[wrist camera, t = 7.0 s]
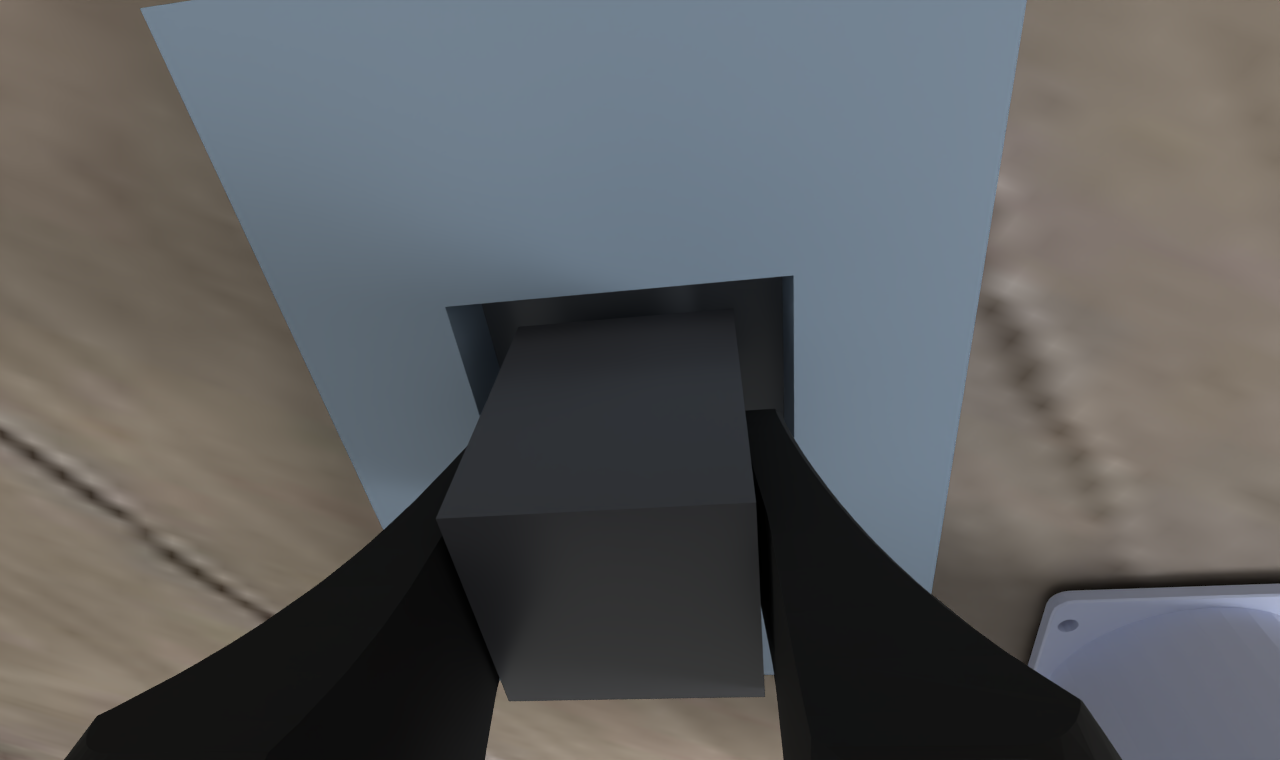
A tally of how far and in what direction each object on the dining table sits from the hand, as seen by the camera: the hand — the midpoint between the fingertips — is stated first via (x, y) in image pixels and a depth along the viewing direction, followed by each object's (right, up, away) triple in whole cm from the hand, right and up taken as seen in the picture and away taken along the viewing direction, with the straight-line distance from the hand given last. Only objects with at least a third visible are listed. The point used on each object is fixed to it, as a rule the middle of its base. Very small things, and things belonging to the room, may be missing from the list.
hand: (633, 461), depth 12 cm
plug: (0, +1, +1) cm, 2 cm away
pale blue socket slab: (0, +2, +3) cm, 3 cm away
